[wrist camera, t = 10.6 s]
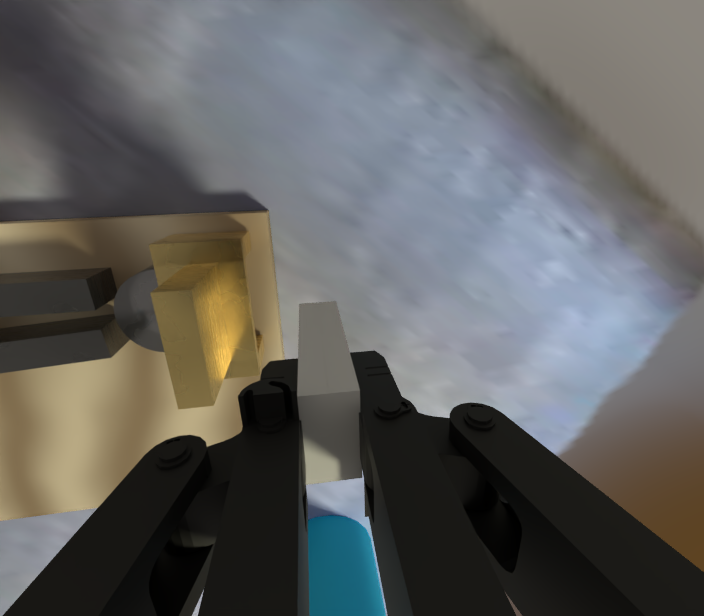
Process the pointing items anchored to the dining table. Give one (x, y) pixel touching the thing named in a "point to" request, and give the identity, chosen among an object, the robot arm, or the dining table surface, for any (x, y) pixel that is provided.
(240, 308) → the yellow stepped block
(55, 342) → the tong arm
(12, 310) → the tong fixed
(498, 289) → the dining table surface
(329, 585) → the mug
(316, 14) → the dining table surface
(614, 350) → the dining table surface
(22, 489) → the board
